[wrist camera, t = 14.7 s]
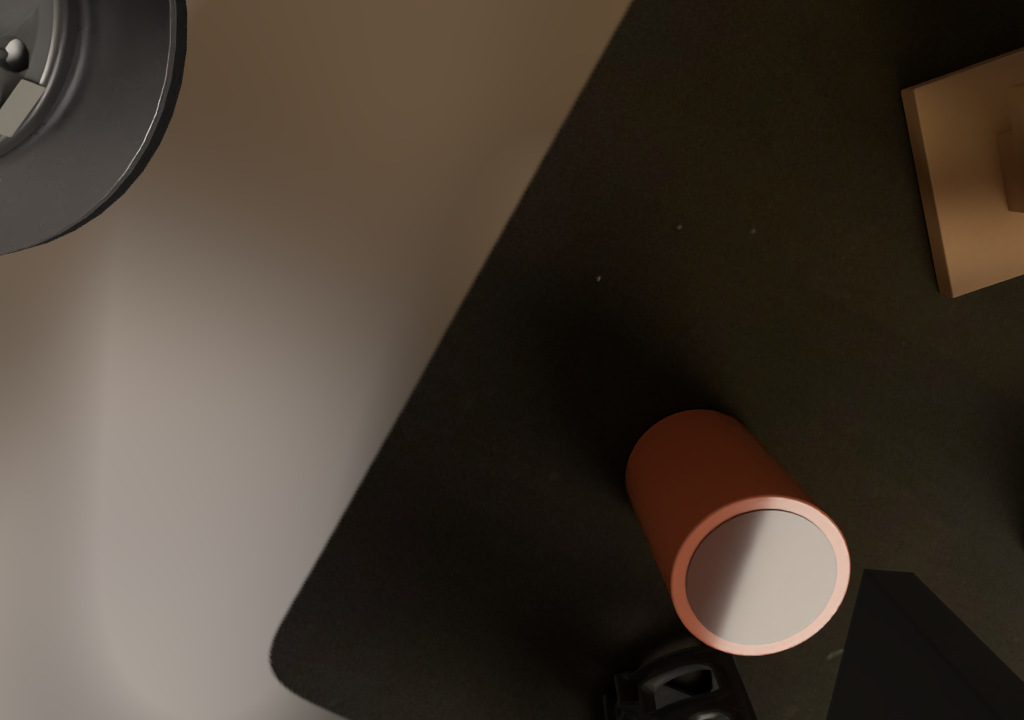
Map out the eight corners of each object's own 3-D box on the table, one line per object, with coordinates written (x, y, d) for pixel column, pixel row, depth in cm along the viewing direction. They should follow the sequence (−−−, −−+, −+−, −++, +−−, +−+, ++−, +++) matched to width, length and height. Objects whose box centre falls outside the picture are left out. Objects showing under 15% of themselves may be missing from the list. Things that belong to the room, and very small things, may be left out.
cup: (607, 435, 39) (649, 530, 30) (743, 389, 39) (830, 470, 29) (647, 554, 41) (698, 680, 32) (777, 511, 41) (869, 625, 31)
